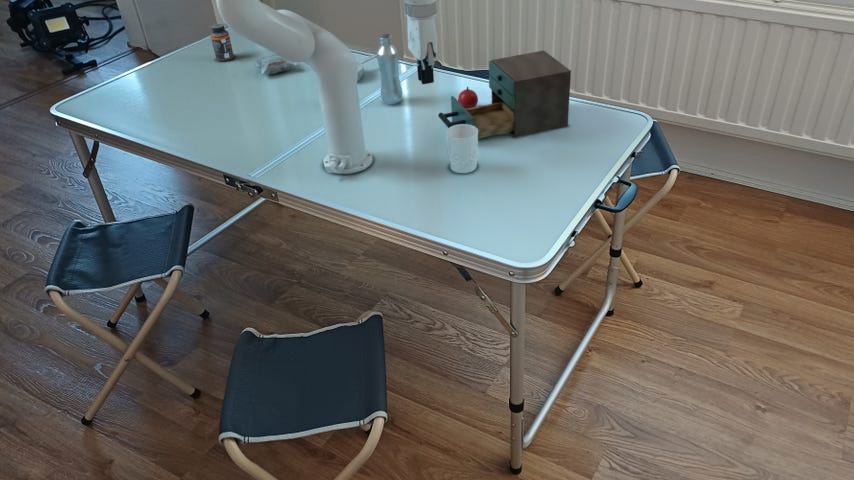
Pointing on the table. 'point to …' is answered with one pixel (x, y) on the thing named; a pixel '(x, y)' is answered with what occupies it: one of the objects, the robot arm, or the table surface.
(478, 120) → the drawer
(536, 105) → the cabinet
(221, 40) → the supplement bottle
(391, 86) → the silver water bottle
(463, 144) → the white cup
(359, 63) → the small pan
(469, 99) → the apple
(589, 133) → the table surface
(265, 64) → the packaged food
